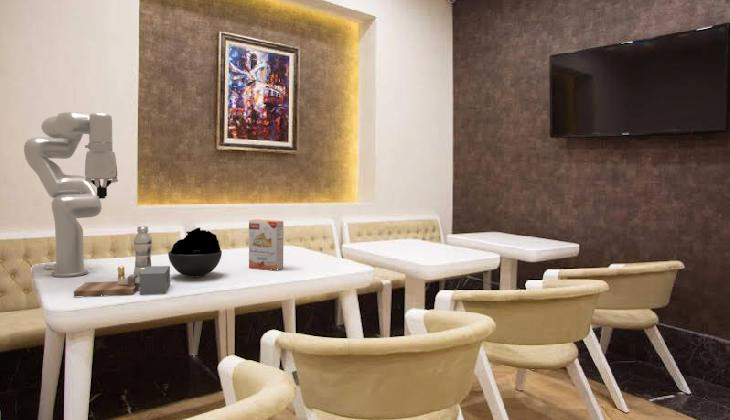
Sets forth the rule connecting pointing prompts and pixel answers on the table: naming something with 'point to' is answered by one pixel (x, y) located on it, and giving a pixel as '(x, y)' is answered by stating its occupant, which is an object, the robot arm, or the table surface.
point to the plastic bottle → (142, 250)
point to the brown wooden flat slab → (108, 288)
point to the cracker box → (265, 244)
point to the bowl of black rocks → (196, 253)
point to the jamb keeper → (154, 280)
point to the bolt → (122, 277)
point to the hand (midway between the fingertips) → (102, 198)
